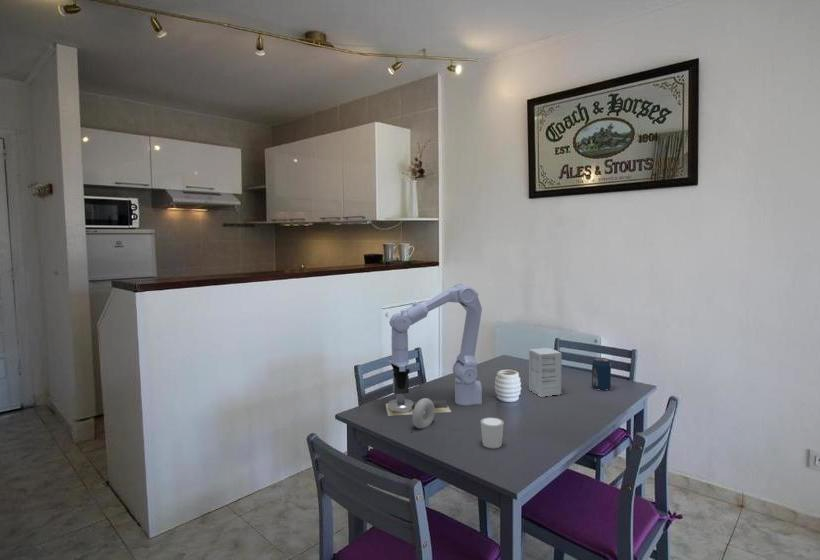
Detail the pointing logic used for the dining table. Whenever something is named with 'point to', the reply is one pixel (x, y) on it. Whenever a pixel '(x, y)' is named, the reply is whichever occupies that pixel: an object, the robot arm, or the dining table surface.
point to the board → (437, 410)
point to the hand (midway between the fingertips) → (400, 386)
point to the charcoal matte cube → (395, 386)
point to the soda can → (601, 373)
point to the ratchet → (410, 404)
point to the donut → (429, 413)
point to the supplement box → (545, 371)
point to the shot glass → (492, 432)
